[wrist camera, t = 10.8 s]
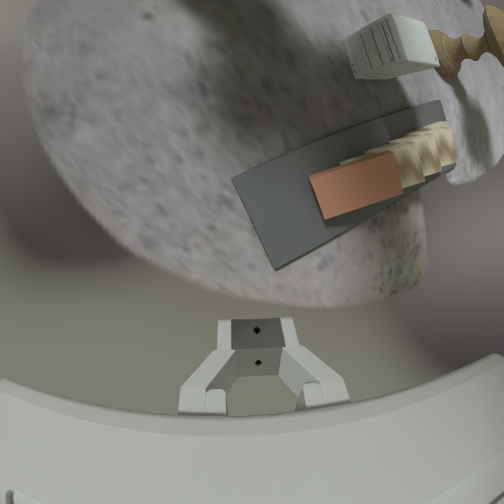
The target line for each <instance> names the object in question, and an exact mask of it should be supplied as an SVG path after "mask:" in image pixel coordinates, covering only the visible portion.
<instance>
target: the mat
mask: <svg viewBox="0 0 504 504" xmlns="http://www.w3.org/2000/svg"><path fill="white" fill-rule="evenodd" d="M439 121H446V117H445V114H444V111H443V107H442V104H441V101H440V100H436V101H432V102H428V103H425V104H421V105H418V106H414V107H411V108H408V109H405V110H401V111H398V112H395V113H392V114H389V115H386V116H383V117H380V118H377V119H374V120H371V121H368V122H365V123H362V124H359V125H357V126H354V127H351V128H348V129H346V130H343V131H340V132H338V133H335V134H332V135H330V136H327V137H325V138H322V139H320V140H317V141H315V142H312V143H310V144H307V145H305V146H302V147H300V148H298V149H295V150H293V151H291V152H288V153H286V154H284V155H281V156H279V157H277V158H274V159H272V160H270V161H268V162H266V163H263V164H261V165H259V166H257V167H255V168H252V169H250V170H248V171H246V172H244V173H242V174H240V175H238V176H235V177H233V178H231V179H232V181H233V184H234V186H235V188H236V190H237V192H238V194H239V196H240V198H241V200H242V203H243V205H244V207H245V209H246V211H247V213H248V215H249V217H250V220H251V222H252V224H253V226H254V228H255V230H256V232H257V235H258V237H259V239H260V241H261V243H262V245H263V247H264V250H265V252H266V254H267V256H268V258H269V260H270V263H271V265H272V267H273V268H274V269H276V268H278V267H280V266H282V265H284V264H286V263H288V262H289V261H291V260H293V259H295V258H297V257H299V256H300V255H302V254H304V253H306V252H308V251H310V250H311V249H313V248H315V247H317V246H319V245H321V244H322V243H324V242H326V241H328V240H330V239H331V238H333V237H335V236H337V235H339V234H340V233H342V232H344V231H346V230H347V229H349V228H351V227H353V226H355V225H356V224H358V223H360V222H362V221H363V220H365V219H367V218H369V217H370V216H372V215H374V214H376V213H377V212H379V211H381V210H383V209H384V208H386V207H388V206H389V205H391V204H393V203H395V202H396V201H398V200H400V199H401V198H403V197H405V196H407V195H408V194H410V193H412V192H413V191H415V190H417V189H418V188H420V187H422V186H423V185H425V184H427V183H428V182H430V181H432V180H433V179H435V178H436V177H438V176H440V175H442V174H443V173H445V172H447V171H448V170H450V169H451V168H453V167H455V166H456V163H452V164H449V165H446V166H442V167H441V168H442V171H440V172H437V173H434V174H431V175H428V176H424V178H425V181H424V182H421V183H418V184H415V185H412V186H409V187H405V188H402V189H403V193H404V194H401V195H398V196H395V197H392V198H389V199H386V200H383V201H380V202H377V203H373V204H370V205H367V206H364V207H361V208H358V209H355V210H352V211H349V212H346V213H343V214H340V215H337V216H334V217H331V218H328V219H324V216H323V213H322V211H321V208H320V205H319V202H318V199H317V197H316V194H315V191H314V189H313V186H312V183H311V181H310V178H309V176H310V175H313V174H316V173H319V172H322V171H325V170H328V169H331V168H334V167H337V166H340V165H339V162H342V161H345V160H348V159H351V158H354V157H357V156H361V155H364V151H367V150H371V149H374V148H377V147H380V146H384V145H387V142H389V141H392V140H396V139H399V138H403V137H404V136H403V135H405V134H407V133H410V132H413V131H415V130H418V129H420V128H423V127H425V126H428V125H431V124H433V123H436V122H439Z"/></svg>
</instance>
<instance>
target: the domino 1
mask: <svg viewBox="0 0 504 504" xmlns="http://www.w3.org/2000/svg"><path fill="white" fill-rule="evenodd" d="M309 178H310V181H311V183H312V186H313V189H314V191H315V194H316V197H317V199H318V202H319V205H320V208H321V211H322V213H323V216H324V219H328V218H331V217H334V216H337V215H340V214H343V213H346V212H349V211H352V210H355V209H358V208H361V207H364V206H367V205H370V204H373V203H377V202H380V201H383V200H386V199H389V198H392V197H395V196H398V195H401V194H404V193H403V189H402V185H401V180H400V176H399V172H398V169H397V165H396V161H395V158H394V154H393V152H391V151H389V150H387V151H384V152H380V153H377V154H374V155H371V156H367V157H364V158H361V159H358V160H355V161H352V162H349V163H346V164H343V165H340V166H337V167H334V168H331V169H328V170H325V171H322V172H319V173H316V174H313V175H310V176H309Z"/></svg>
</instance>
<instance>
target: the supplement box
mask: <svg viewBox="0 0 504 504" xmlns="http://www.w3.org/2000/svg"><path fill="white" fill-rule="evenodd" d="M343 44H344V47H345V50H346V53H347V56H348V59H349V62H350V65H351V68H352V71H353V75H354V78H355V79H381V80H387V79H391V78H394V77H398V76H402V75H406V74H409V73H414V72H418V71H422V70H426V69H431V68H436V67H440V64H439V61H438V57H437V54H436V51H435V48H434V46H433V43H432V40H431V38H430V35H429V33H428V30H427V28H426V25H425V23H424V22H421V21H417V20H414V19H411V18H407V17H404V16H400V15H397V14H393V13H390V14H388V15H386V16H384V17H382V18H380V19H378V20H376V21H374V22H373V23H371V24H369V25H367V26H365V27H364V28H362V29H360V30H358V31H357V32H355V33H353V34H352V35H350V36H349V37H347V38H345V39H344V40H343Z"/></svg>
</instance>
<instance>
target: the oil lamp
mask: <svg viewBox="0 0 504 504" xmlns="http://www.w3.org/2000/svg"><path fill="white" fill-rule="evenodd" d="M483 25H484V30H485V31H484V35H483V36H482V37H481V38H474V37H472V36H470V35H468V34H465V33H464V34H462V35H461V37H459V38H457V39H453V38H450V37H448V36H447V35H446V34H444V33H443V32H441V31H439V30H430V31H428V33H429V35H430V38H431V40H432V43H433V46H434V48H435V51H436V54H437V57H438V61H439V64H440V67H436V68H435V69H436V70H437V71H438V72H440V73H441V74H442V75H444V76H452V75H455V74H457V73H458V72H459V71H460V68H461V62H462V61H463V60H464V59H472V60H474V61H478V60H479V58H480V56H481V55H482V54H483V53H484V52H489V53H491V54H493V55H494V56H495V57H497V59H498V60H499V62H500V63H501V64H502V66H503V67H504V12H503V11H501V10H500V9H498V8H496V7H494V6H491V5H487V6H486V8H485V9H484V12H483Z"/></svg>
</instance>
